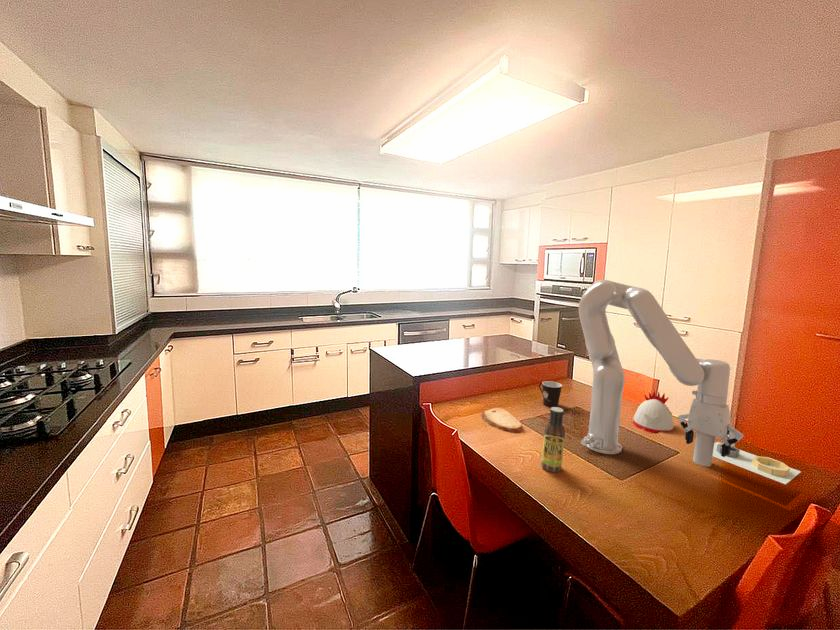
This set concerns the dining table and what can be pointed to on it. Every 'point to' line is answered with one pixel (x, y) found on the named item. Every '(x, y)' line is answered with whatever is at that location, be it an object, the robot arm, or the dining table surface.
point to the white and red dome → (654, 415)
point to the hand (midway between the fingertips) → (706, 449)
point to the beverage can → (703, 449)
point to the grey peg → (731, 438)
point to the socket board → (748, 466)
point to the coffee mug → (551, 393)
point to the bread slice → (502, 420)
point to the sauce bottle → (553, 441)
